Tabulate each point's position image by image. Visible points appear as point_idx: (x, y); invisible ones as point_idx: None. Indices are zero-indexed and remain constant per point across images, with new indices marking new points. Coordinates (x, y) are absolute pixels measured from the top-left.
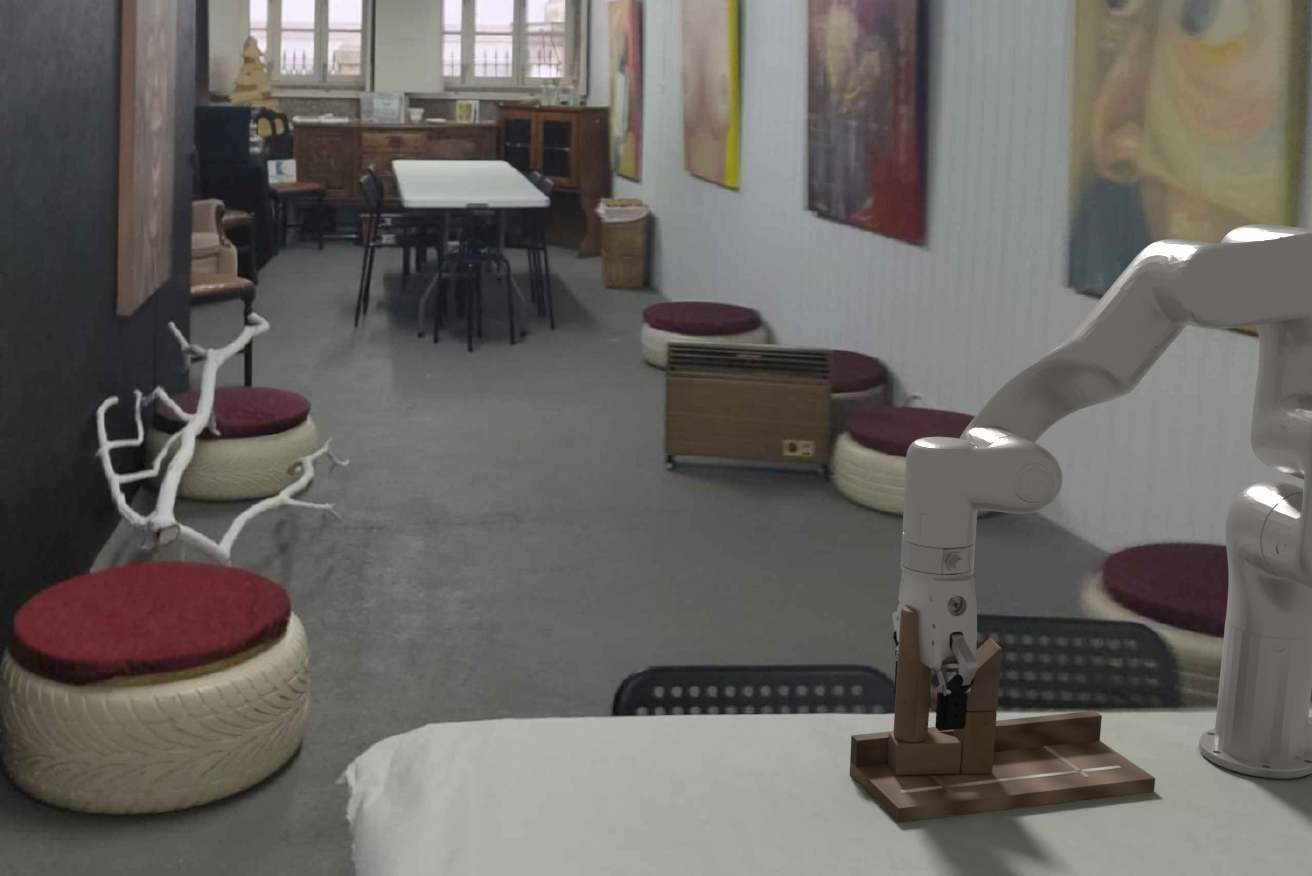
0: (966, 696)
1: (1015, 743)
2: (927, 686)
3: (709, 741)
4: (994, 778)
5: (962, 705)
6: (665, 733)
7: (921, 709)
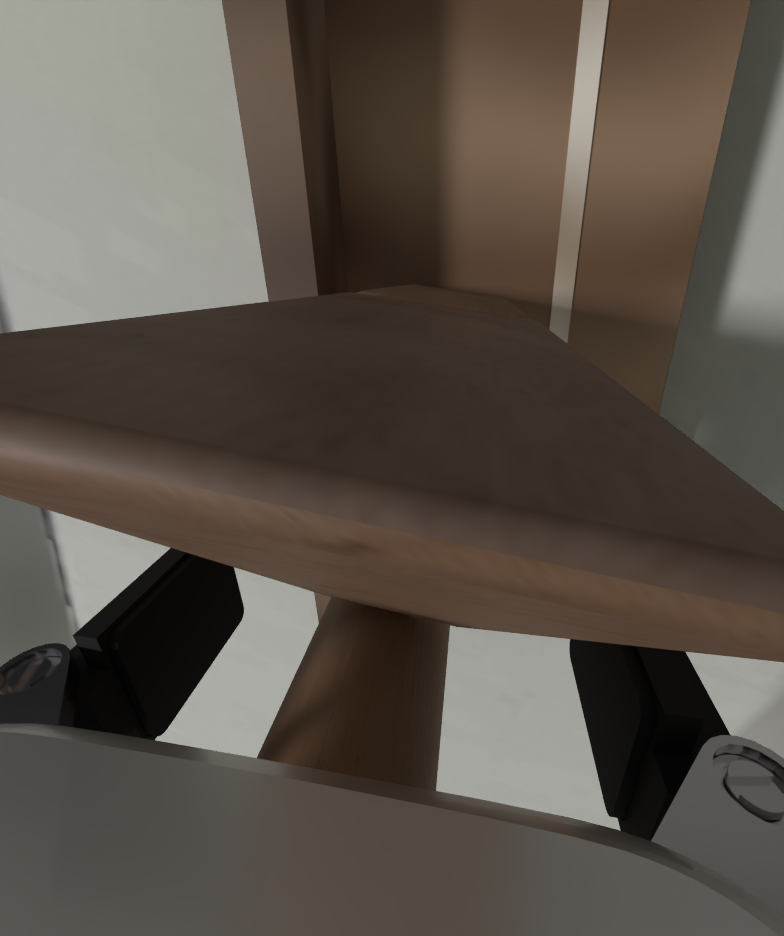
0: (687, 691)
1: (322, 82)
2: (426, 746)
3: (193, 703)
4: (541, 309)
5: (708, 697)
6: (165, 734)
7: (445, 667)
